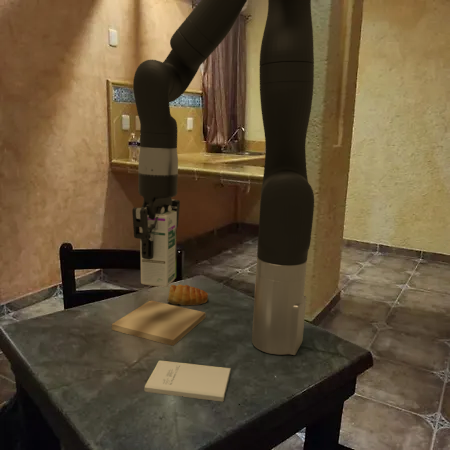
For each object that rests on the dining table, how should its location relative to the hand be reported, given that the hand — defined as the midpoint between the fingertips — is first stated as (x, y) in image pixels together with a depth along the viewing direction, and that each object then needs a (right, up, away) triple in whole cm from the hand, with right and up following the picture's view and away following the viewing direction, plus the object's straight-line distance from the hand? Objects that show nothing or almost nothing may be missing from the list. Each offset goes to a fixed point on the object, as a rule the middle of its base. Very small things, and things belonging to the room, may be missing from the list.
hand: (156, 254), depth 88 cm
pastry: (+4, -12, +16) cm, 21 cm away
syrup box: (0, -6, +1) cm, 6 cm away
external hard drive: (+8, -20, -17) cm, 28 cm away
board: (0, -15, +3) cm, 15 cm away
